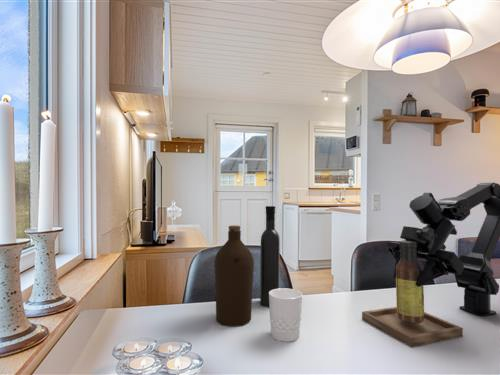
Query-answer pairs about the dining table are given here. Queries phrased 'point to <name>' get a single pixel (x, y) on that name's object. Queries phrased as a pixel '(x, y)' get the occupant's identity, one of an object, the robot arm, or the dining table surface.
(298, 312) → the white cup
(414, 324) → the walnut tray
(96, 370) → the dining table surface
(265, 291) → the wine bottle
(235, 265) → the olive oil
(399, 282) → the sauce bottle
